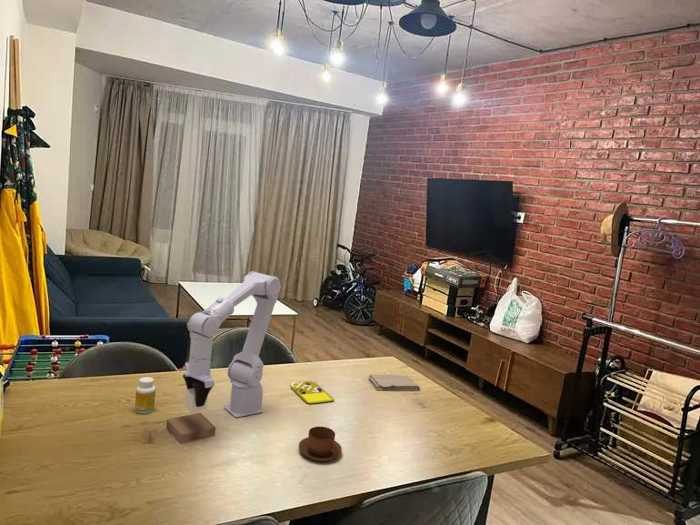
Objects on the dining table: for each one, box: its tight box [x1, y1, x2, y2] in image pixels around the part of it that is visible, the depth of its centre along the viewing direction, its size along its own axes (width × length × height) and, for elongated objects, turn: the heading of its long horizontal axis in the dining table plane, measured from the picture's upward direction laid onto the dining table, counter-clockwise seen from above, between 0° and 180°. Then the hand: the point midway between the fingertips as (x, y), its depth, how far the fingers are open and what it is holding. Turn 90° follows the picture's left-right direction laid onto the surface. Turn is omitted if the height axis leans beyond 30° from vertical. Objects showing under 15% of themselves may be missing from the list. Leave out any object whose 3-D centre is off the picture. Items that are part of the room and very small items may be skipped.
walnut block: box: [166, 412, 216, 445], centre depth 146 cm, size 10×10×3 cm
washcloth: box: [368, 373, 421, 392], centre depth 201 cm, size 12×18×3 cm, turn 108°
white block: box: [184, 388, 209, 414], centre depth 145 cm, size 4×4×5 cm
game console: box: [289, 380, 335, 406], centre depth 184 cm, size 18×11×2 cm, turn 31°
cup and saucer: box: [298, 426, 343, 462], centre depth 143 cm, size 12×12×6 cm
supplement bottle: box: [134, 376, 156, 415], centre depth 155 cm, size 5×5×10 cm
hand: (196, 402), depth 145 cm, fingers closed on white block, 4 cm apart
